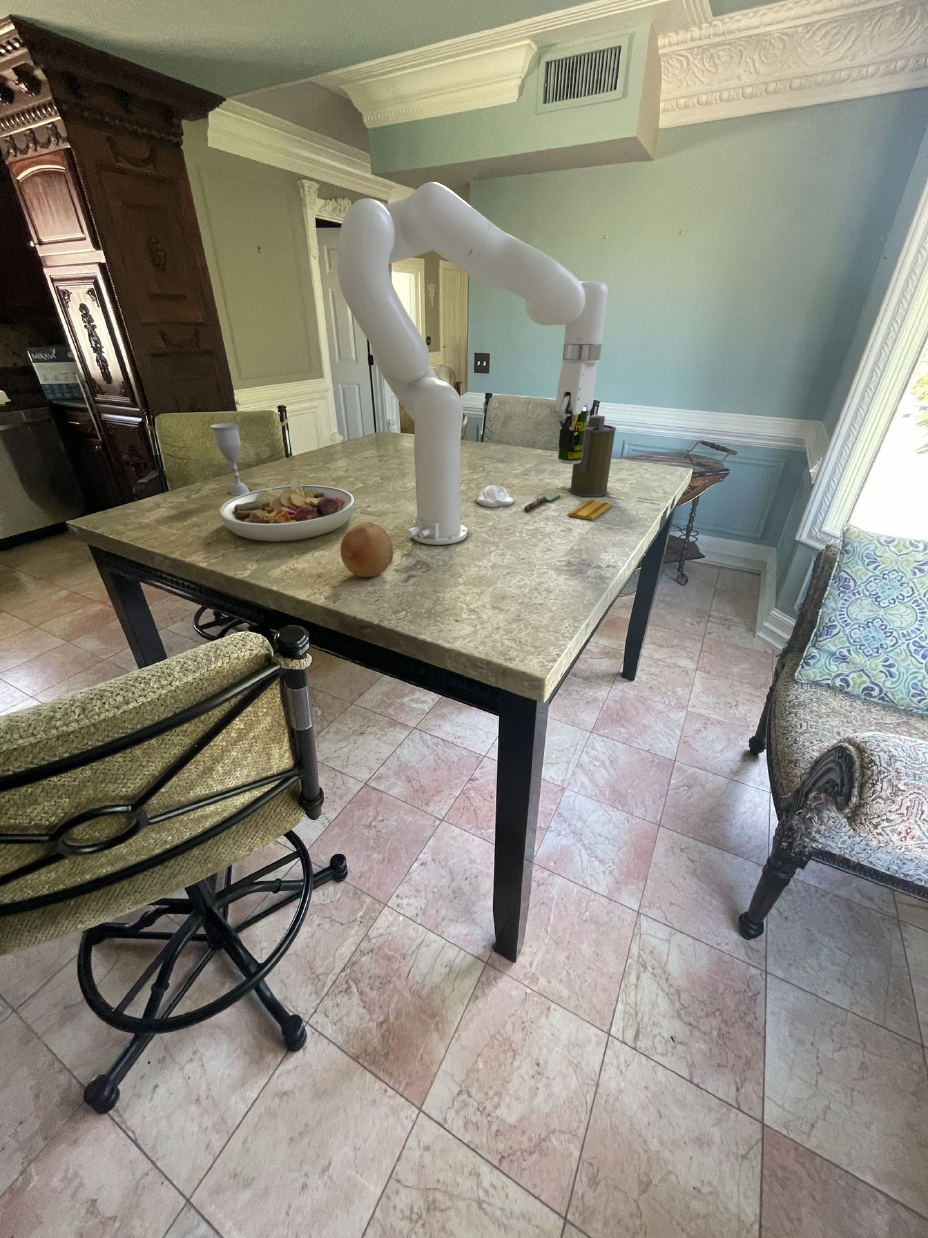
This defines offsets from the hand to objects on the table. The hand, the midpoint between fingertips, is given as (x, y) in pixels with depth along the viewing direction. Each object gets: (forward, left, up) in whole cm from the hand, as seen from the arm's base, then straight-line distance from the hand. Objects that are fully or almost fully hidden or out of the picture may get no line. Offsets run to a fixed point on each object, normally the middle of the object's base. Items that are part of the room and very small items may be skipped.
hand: (571, 445), depth 111 cm
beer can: (0, 0, -4) cm, 4 cm away
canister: (+28, +5, -18) cm, 33 cm away
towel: (+12, -2, -18) cm, 21 cm away
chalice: (-27, +87, -18) cm, 93 cm away
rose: (+5, +22, -18) cm, 29 cm away
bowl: (-36, +54, -18) cm, 67 cm away
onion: (-47, +19, -18) cm, 54 cm away
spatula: (+11, +11, -18) cm, 23 cm away
